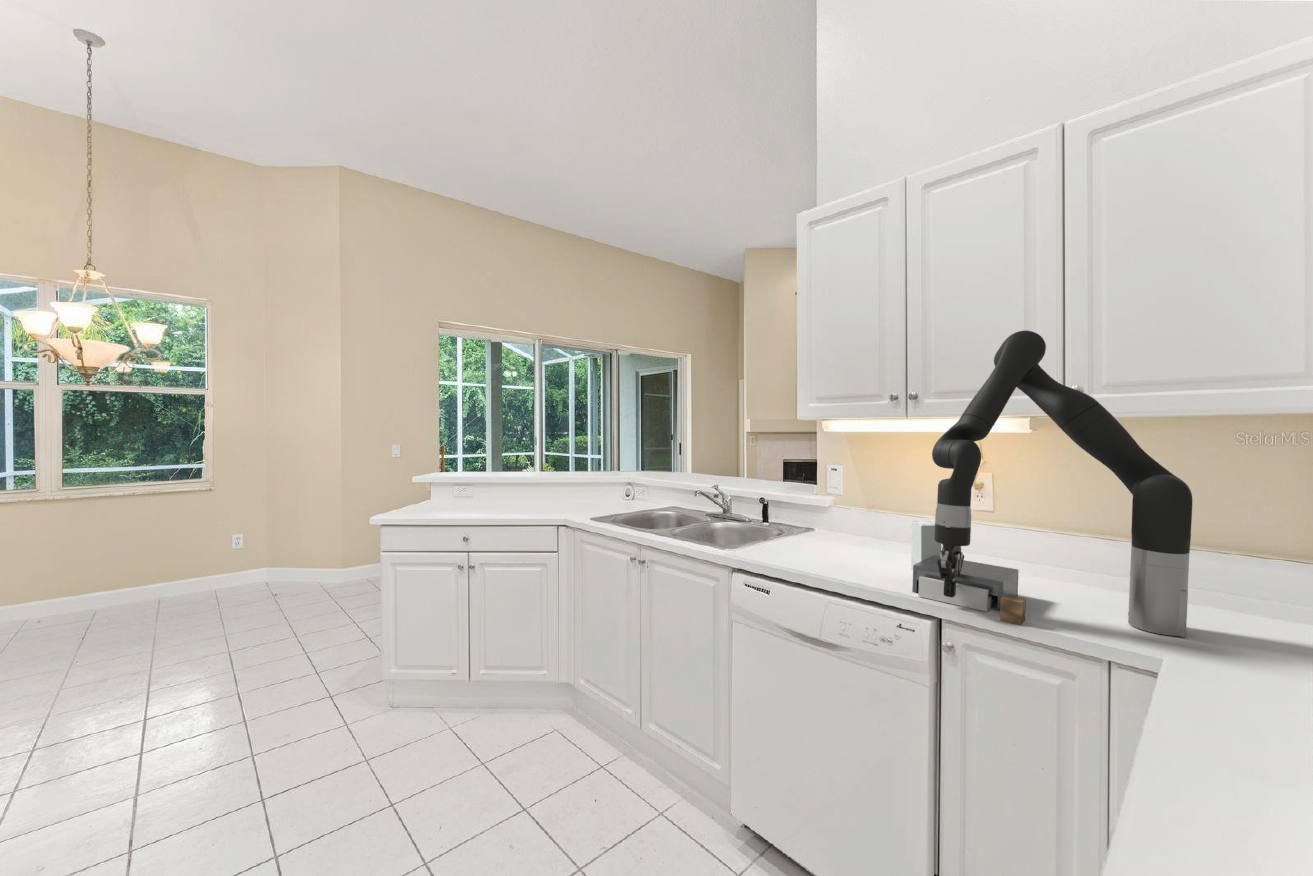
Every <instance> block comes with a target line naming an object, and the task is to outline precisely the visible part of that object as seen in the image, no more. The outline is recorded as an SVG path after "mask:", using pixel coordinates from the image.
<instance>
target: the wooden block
mask: <svg viewBox="0 0 1313 876" xmlns="http://www.w3.org/2000/svg"><path fill="white" fill-rule="evenodd" d="M1026 603H1027V598H1025V597H1020V596H1018V597H1016V596H1011V595H1006V594H1005V595H1004V596H1003V597H1001V604H1000V611H999V621H1001V622H1005V623H1010V624H1013V625H1018V626H1022V625H1023V624H1024V623H1025V622H1026V609H1027V607H1026V605H1027V604H1026Z"/></svg>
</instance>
